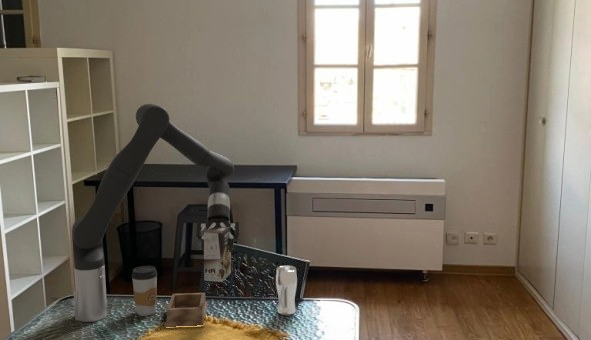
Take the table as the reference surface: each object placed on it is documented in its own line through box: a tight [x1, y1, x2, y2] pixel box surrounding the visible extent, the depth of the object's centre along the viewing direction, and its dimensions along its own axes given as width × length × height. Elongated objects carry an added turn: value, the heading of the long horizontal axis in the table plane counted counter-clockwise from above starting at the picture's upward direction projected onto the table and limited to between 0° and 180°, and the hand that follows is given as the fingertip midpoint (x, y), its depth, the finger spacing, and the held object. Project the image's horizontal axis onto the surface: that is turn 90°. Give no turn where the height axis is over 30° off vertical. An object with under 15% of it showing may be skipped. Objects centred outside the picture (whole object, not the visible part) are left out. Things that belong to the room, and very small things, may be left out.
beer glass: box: [275, 265, 298, 316], centre depth 184 cm, size 7×7×15 cm
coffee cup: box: [131, 265, 158, 317], centre depth 184 cm, size 8×8×15 cm
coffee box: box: [203, 227, 232, 283], centre depth 180 cm, size 9×6×16 cm
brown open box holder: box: [163, 292, 208, 328], centre depth 182 cm, size 12×20×5 cm, turn 5°
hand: (217, 251), depth 178 cm, fingers closed on coffee box, 8 cm apart
